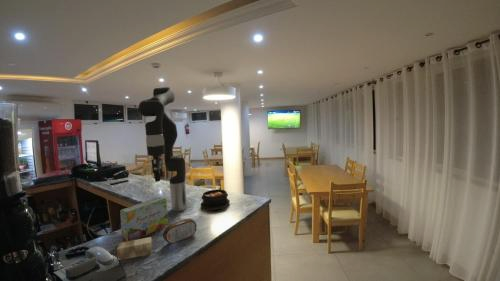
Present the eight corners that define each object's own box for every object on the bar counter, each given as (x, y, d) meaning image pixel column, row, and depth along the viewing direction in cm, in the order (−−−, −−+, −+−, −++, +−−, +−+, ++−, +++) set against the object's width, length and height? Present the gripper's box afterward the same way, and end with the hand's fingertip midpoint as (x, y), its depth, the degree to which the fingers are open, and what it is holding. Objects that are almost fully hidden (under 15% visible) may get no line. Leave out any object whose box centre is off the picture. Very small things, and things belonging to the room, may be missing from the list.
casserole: (233, 210, 130) (232, 196, 130) (201, 215, 126) (200, 200, 125) (226, 197, 154) (226, 186, 154) (200, 201, 150) (199, 189, 149)
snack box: (129, 244, 97) (126, 212, 96) (122, 241, 100) (119, 210, 99) (168, 224, 115) (166, 197, 114) (161, 222, 118) (159, 195, 117)
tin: (195, 232, 105) (194, 215, 104) (198, 235, 103) (197, 217, 102) (163, 244, 95) (162, 226, 95) (165, 247, 93) (164, 228, 92)
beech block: (116, 249, 85) (150, 242, 88) (119, 242, 90) (151, 236, 93) (117, 261, 85) (151, 254, 89) (121, 254, 90) (152, 247, 94)
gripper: (149, 143, 105) (153, 176, 107) (143, 147, 92) (147, 184, 93) (165, 142, 107) (169, 174, 109) (162, 145, 94) (166, 181, 95)
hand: (159, 178), depth 101 cm, fingers open, 8 cm apart
